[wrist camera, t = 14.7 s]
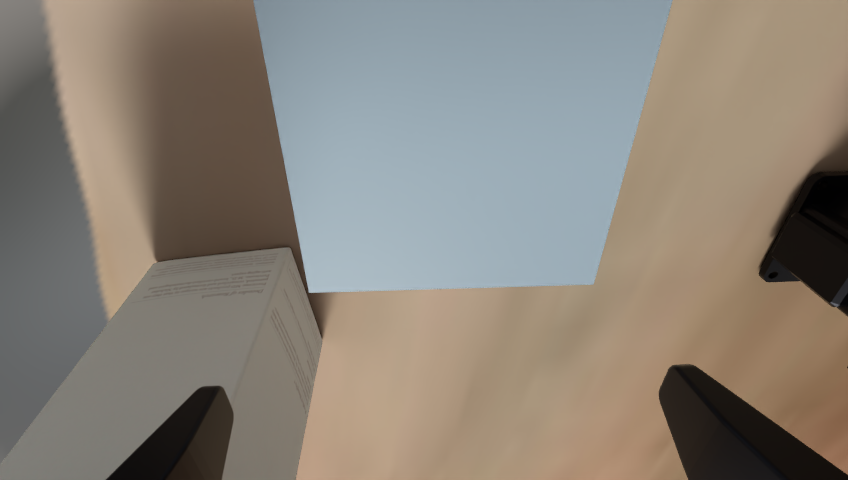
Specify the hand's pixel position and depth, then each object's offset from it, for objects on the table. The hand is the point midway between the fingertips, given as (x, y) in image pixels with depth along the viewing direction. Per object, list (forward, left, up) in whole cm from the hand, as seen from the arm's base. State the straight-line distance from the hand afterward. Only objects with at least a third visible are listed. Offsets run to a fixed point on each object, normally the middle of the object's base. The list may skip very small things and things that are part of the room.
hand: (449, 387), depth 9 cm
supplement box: (+10, +9, -13) cm, 19 cm away
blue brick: (0, -5, -4) cm, 7 cm away
